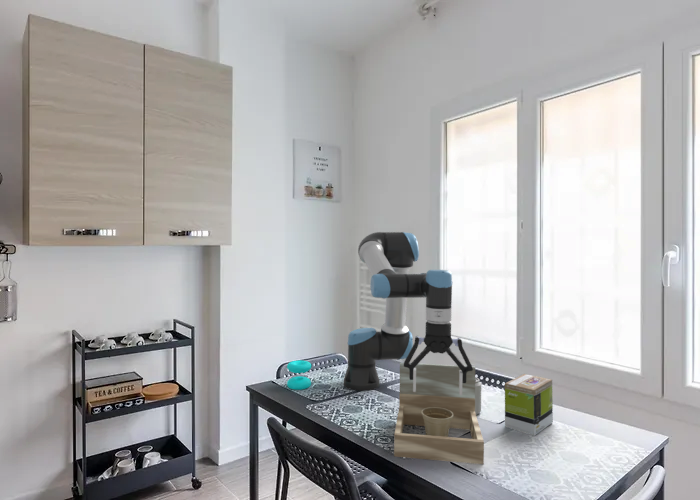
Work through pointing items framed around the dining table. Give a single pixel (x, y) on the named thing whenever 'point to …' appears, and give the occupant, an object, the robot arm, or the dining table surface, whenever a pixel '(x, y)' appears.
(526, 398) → the tea box
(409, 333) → the robot arm
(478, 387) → the can
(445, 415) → the flower pot
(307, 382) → the donuts
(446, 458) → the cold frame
